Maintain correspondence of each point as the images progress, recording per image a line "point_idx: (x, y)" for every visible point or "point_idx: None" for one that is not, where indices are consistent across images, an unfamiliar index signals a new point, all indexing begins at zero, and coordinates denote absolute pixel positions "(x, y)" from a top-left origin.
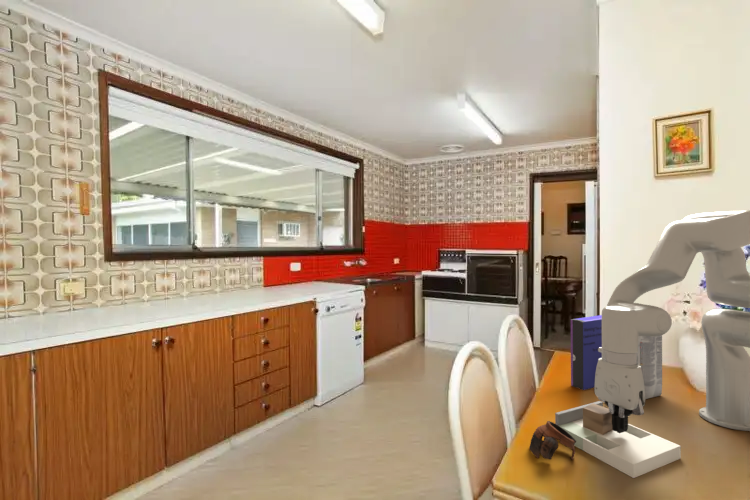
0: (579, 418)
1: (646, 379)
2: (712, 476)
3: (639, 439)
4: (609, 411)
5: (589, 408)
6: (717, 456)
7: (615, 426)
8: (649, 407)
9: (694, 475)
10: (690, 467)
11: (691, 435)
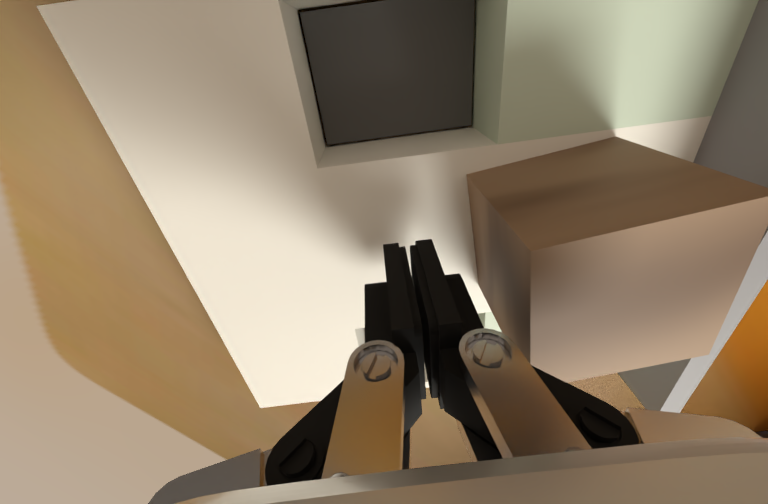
0: None
1: None
2: (155, 359)
3: (348, 318)
4: (507, 338)
5: (706, 249)
6: (267, 441)
7: (413, 262)
8: None
9: (160, 318)
10: (214, 346)
11: None
